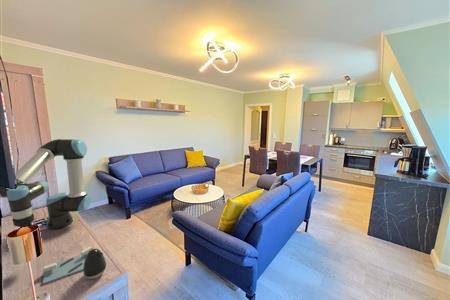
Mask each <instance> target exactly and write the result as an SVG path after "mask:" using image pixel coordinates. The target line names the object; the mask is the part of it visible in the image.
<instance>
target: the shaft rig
mask: <svg viewBox="0 0 450 300" xmlns="http://www.w3.org/2000/svg"><path fill="white" fill-rule="evenodd" d="M92 249H94V248H93V246H88V247H87V248H85V249H83V250H82V251H80V255H78V256H73V257H71V258H66V259H65V260H61V261H58V262H54V263H50V264H47V265H44V266H43V280H42V286H44V285H46V284H49V283H52V282H55V281H58V280H61V279H63V278H66V277H70V276H72V275H75V274H77V273H81V272H83V267H84V262H85V258H86V256H87V254H88V252H89V251H90V250H92Z"/></svg>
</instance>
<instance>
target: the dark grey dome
mask: <svg viewBox="0 0 450 300" xmlns="http://www.w3.org/2000/svg"><path fill="white" fill-rule="evenodd" d="M106 268H107V262H106V257H105V256H104V253H103V252H102V251H101V250H100V249H98V248H93V249H92V250H90V251H89V252H88V254H87V256H86V258H85V262H84V267H83V271H82V273H83V275H84V276H85V278H87V279H90V280H94V279H98V278H99V277H101V275H103V273H104V272H105V270H106Z"/></svg>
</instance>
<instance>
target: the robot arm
mask: <svg viewBox="0 0 450 300" xmlns="http://www.w3.org/2000/svg"><path fill="white" fill-rule="evenodd" d="M35 152H36V153H35V154H34V155H32V157H31V158H30V159H29V160H28V161H26V162H25V164H23V165H22V166H21V167H20V168H19V169H18V170H17V171H16V172H15V173H16V179H17V188H16V189H6V188H0V198H6V199H7V202H8V207H9V209H10V210H9V211H10V212H9V214H10V215H11V218H12V223H13V226H14V227H18V230H19V229H20V228H22V227H26V226H31V225H32V226H33V222H34V221H35V215H34V209H33V206H32V205H33V204H32V201H33V200H34V199H36V198H38V197H40V196H41V195H44V194H45V193H46V192H48V191H49V189H50V186H49V183H48V182H47V181H45V180H42V179H41V180H37V181H34V182H32V183H31V182H30V180H31V179H33V177H34V176H36V174H37V173H38V172H39V171H40V170H41V169H42V168H43V167H44V166H45V165H46V164H47V163H48V162H49V161H50V160H52V159H54V158H55V157H58V156H59V157H60V156H61V157H62V158H63V160H64V161H66V169H67V170H66V171H67V179H68V189H69V193H66V192H59V193H56V194H52V195H50V196H49V197H47V198H46V203H45V204H46V208H47V214H48V218H47V223H46V228H47V230H60V229H63V228H65V227H68V226H69V225H71V224H72V223H73V222H74V217H73V216H72V214H71V213H72V212H78V213H80V212H85V211H86V210H88V209H89V207H90V205H91V203H92V197H91V196H90V194H89V195H88V191H86V190H85V184H84V182H85V181H84V175H83V173H84V172H83V159H84V157H85V156H86V155H87V153H88V146H87V144H86V143H85V141H83V140H81V139H68V138H67V139H63V138H62V139H61V138H58V139H57V138H56V139H52V140H50V141H48V142H46V143H44V144H42V145H41V146H40V147H39V148H38V149H37V150H36V151H35Z"/></svg>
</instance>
